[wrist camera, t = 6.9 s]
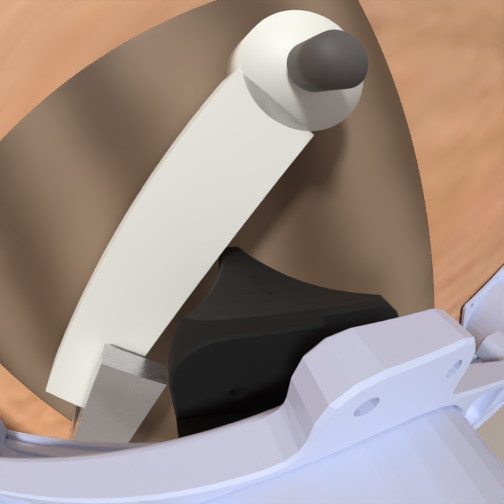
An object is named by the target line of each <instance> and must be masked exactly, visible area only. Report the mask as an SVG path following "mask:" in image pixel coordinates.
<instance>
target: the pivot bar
mask: <svg viewBox="0 0 504 504" xmlns="http://www.w3.org/2000/svg"><path fill="white" fill-rule="evenodd" d="M332 29H336V30H342V29H341V28H340V27H339V26H338V25H337V24H335V23H334V22H332V21H331V20H329V19H327V18H325V17H324V16H321V15H319V14H316V13H313V12H309V11H303V10H288V11H282V12H278V13H275V14H273V15H271V16H269V17H267V18H265V19H264V20H262V21H261V22H260V23H259V24H257V25H256V26H255V27H254V28H253V29H252V30H251V31H250V32H249V33H248V34H247V36H246V37H245V38H244V39H243V40H242V41H241V42H240V43H239V44H238V45H237V46H236V47H235V49H234V50H233V52H232V53H231V55H230V57H229V60H228V63H227V67H226V79H225V80H223V81H222V82H221V83H220V85H219V86H218V87H217V88H216V89H215V90H214V92H213V93H212V94H211V95H210V96H209V98H208V99H207V100H206V101H205V103H204V104H203V105H202V106H201V107H200V109H199V110H198V111H197V112H196V114H195V115H194V116H193V117H192V119H191V120H190V121H189V123H188V124H187V125H186V127H185V128H184V129H183V130H182V132H181V133H180V134H179V136H178V137H177V138H176V140H175V141H174V143H173V144H172V145H171V147H170V148H169V149H168V151H167V152H166V154H165V155H164V156H163V158H162V159H161V161H160V162H159V164H158V165H157V167H156V168H155V169H154V171H153V172H152V174H151V175H150V177H149V178H148V180H147V181H146V183H145V184H144V186H143V187H142V189H141V191H140V192H139V194H138V195H137V197H136V198H135V200H134V202H133V203H132V205H131V206H130V208H129V210H128V211H127V213H126V215H125V216H124V218H123V220H122V221H121V223H120V225H119V226H118V228H117V230H116V232H115V233H114V235H113V237H112V239H111V240H110V242H109V244H108V246H107V247H106V249H105V251H104V253H103V255H102V257H101V259H100V260H99V262H98V264H97V266H96V268H95V270H94V272H93V274H92V276H91V278H90V280H89V282H88V284H87V286H86V288H85V290H84V292H83V294H82V296H81V298H80V300H79V302H78V305H77V307H76V309H75V311H74V313H73V316H72V318H71V320H70V322H69V325H68V327H67V329H66V332H65V334H64V337H63V339H62V341H61V344H60V346H59V349H58V351H57V354H56V357H55V360H54V363H53V366H52V370H51V373H50V377H49V380H48V384H47V387H46V392H48V393H51V394H53V395H55V396H57V397H59V398H61V399H63V400H66V401H68V402H70V403H73V404H75V405H77V406H80V407H82V404H83V401H84V398H85V395H86V392H87V389H88V386H89V384H90V381H91V378H92V375H93V373H94V370H95V367H96V365H97V362H98V360H99V357H100V354H101V352H102V349H103V347H104V344H107V345H110V346H112V347H115V348H118V349H120V350H123V351H126V352H128V353H131V354H134V355H137V356H140V357H143V358H144V357H145V356H146V354H147V353H148V351H149V350H150V349H151V347H152V346H153V345H154V343H155V342H156V340H157V339H158V338H159V336H160V335H161V334H162V332H163V331H164V329H165V328H166V327H167V325H168V324H169V323H170V321H171V320H172V319H173V317H174V316H175V314H176V313H177V312H178V310H179V309H180V308H181V306H182V305H183V304H184V302H185V301H186V300H187V298H188V297H189V296H190V294H191V293H192V292H193V290H194V289H195V288H196V286H197V285H198V284H199V282H200V281H201V280H202V278H203V277H204V276H205V274H206V273H207V272H208V270H209V269H210V268H211V266H212V265H213V264H214V262H215V261H216V260H217V258H218V257H219V256H220V254H221V253H222V252H223V250H224V249H225V248H226V246H227V245H228V244H229V243H230V241H231V240H232V239H233V237H234V236H235V235H236V233H237V232H238V231H239V230H240V228H241V227H242V226H243V224H244V223H245V222H246V220H247V219H248V218H249V217H250V215H251V214H252V213H253V211H254V210H255V209H256V208H257V206H258V205H259V204H260V202H261V201H262V200H263V199H264V197H265V196H266V195H267V194H268V192H269V191H270V190H271V188H272V187H273V186H274V185H275V183H276V182H277V181H278V180H279V178H280V177H281V176H282V174H283V173H284V172H285V171H286V169H287V168H288V167H289V166H290V164H291V163H292V162H293V161H294V159H295V158H296V157H297V156H298V154H299V153H300V152H301V151H302V149H303V148H304V147H305V146H306V144H307V143H308V142H309V141H310V140H311V138H312V137H313V136H314V134H312V133H311V132H310V131H319V130H324V129H328V128H330V127H333V126H335V125H337V124H339V123H340V122H342V121H343V120H344V119H345V118H347V117H348V116H349V115H350V113H351V112H352V111H353V110H354V108H355V107H356V105H357V103H358V101H359V99H360V96H361V93H362V88H363V82H362V83H361V84H359V85H358V86H356V87H354V88H351V89H342V90H332V91H323V92H310V91H306V90H304V89H302V88H300V87H299V86H298V85H296V84H295V83H294V81H293V80H292V79H291V77H290V75H289V73H288V70H287V57H288V54H289V52H290V51H291V49H292V48H293V47H294V46H296V45H297V44H299V43H301V42H303V41H305V40H307V39H309V38H311V37H314V36H316V35H318V34H320V33H322V32H324V31H327V30H332ZM342 31H343V30H342Z"/></svg>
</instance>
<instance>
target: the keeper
mask: <svg viewBox="0 0 504 504" xmlns="http://www.w3.org/2000/svg"><path fill="white" fill-rule="evenodd" d="M166 385H167V380H166V365H164V364H161V363H158V362H155V361H152V360H149V359H146V358H143V357H140V356H137V355H134V354H131V353H128V352H126V351H123V350H120V349H118V348H115V347H112V346H110V345H107V344H104V347H103V349H102V352H101V354H100V357H99V360H98V362H97V365H96V367H95V370H94V373H93V375H92V378H91V381H90V384H89V386H88V389H87V392H86V395H85V398H84V401H83V404H82V407H80V406H77V405H75V407H74V410H73V415H72V422H71V429H70V436H69V440H79V441H92V442H111V443H128V442H129V441H130V439H131V438H132V436H133V435H134V433H135V432H136V430H137V429H138V427H139V426H140V424H141V423H142V421H143V420H144V418H145V417H146V415H147V414H148V412H149V411H150V409H151V408H152V406H153V405H154V403H155V402H156V400H157V399H158V397H159V396H160V394H161V393H162V391H163V390H164V388H165V387H166Z"/></svg>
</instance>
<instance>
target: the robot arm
mask: <svg viewBox="0 0 504 504" xmlns="http://www.w3.org/2000/svg"><path fill="white" fill-rule="evenodd" d="M476 348H477V350H476ZM475 351H476V353H475ZM168 379H169V388H170V393H171V398H172V402H173V407H174V411H175V416H176V422H177V431H178V438H177V439H173V440H169V441H165V442H158V443H111V442H92V441H79V440H69V439H60V438H53V437H46V436H39V435H33V434H28V433H22V432H17V431H12V430H8V429H7V428H6V426H5V425H4V423H3V422H2V421H1V419H0V504H504V466H503V465H502V463H501V462H500V461H499V459H498V458H497V457H496V455H495V454H494V453H493V452H492V450H491V449H490V448H489V447H488V445H487V444H486V443H485V441H484V440H483V439H482V438H481V436H480V435H479V434H478V433H477V431H476V429H477V428H478V427H480V426H481V425H482V424H483V423H484V422H485V421H486V420H487V419H489V418H490V417H491V416H492V415H493V414H494V413H495V412H496V411H497V410H498V409H500V408H501V407H502V405H504V265H503V266H502V267H501V269H500V270H499V271H498V272H497V273H496V274H495V275H494V276H493V277H492V278H491V279H490V280H489V281H488V282H487V283H486V284H485V285H484V286H483V287H482V288H481V289H480V290H479V291H478V292H477V293H476V294H475V295H474V296H473V297H472V298H471V299H470V300H469V301H468V302H467V303H466V304H465V305H464V307H463V310H462V320H461V325H460V324H459V323H458V322H457V321H456V320H455V319H453V318H452V317H451V316H450V315H449V314H448V313H447V312H445V311H444V310H440V309H429V310H426V311H422V312H418V313H414V314H410V315H406V316H402V317H399V316H398V313H397V311H396V310H395V309H394V308H393V307H392V306H391V305H390V304H389V303H388V302H387V301H386V300H385V299H384V298H383V297H382V296H381V295H378V294H365V293H353V292H346V291H340V290H334V289H329V288H325V287H321V286H317V285H313V284H310V283H307V282H303V281H300V280H298V279H295V278H293V277H290V276H287V275H285V274H283V273H281V272H279V271H277V270H275V269H273V268H271V267H269V266H267V265H265V264H263V263H262V262H260V261H258V260H257V259H255V258H253V257H252V256H250V255H248V254H247V253H245V252H244V251H243V250H242V249H241V248H239V247H226V248H225V249H224V250H223V252H222V253H221V254H220V256H219V273H218V276H217V279H216V281H215V283H214V285H213V287H212V289H211V290H210V292H209V293H208V295H207V296H206V298H205V299H204V300H203V301H202V302H201V303H200V304H199V305H198V306H197V307H196V308H195V309H194V310H193V311H191V312H190V313H188V314H187V315H185V316H183V317H182V318H181V319H180V320H179V322H178V324H177V327H176V330H175V333H174V336H173V339H172V343H171V347H170V351H169V357H168Z"/></svg>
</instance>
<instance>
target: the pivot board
mask: <svg viewBox="0 0 504 504" xmlns="http://www.w3.org/2000/svg"><path fill="white" fill-rule="evenodd" d="M288 10H303V11H309V12H313V13H316V14H319V15H321V16H324V17H325V18H327V19H329V20H331V21H332V22H334V23H335V24H337V25H338V26H339V27H340V28H341V29H342V30H343V31H342V30H336V29H332V30H327V31H324V32H322V33H320V34H318V35H316V36H314V37H311V38H309V39H307V40H305V41H303V42H301V43H299V44H297V45H296V46H294V47H293V48H292V49H291V51H290V52H289V54H288V57H287V70H288V73H289V75H290V77H291V79H292V80H293V81H294V83H295V84H296V85H298V86H299V87H300V88H302V89H304V90H306V91H310V92H323V91H332V90H342V89H351V88H354V87H356V86H358V85H359V84H361V83H362V82H363V88H362V93H361V96H360V99H359V101H358V103H357V105H356V107H355V108H354V110H353V111H352V112H351V113H350V115H349V116H348V117H347V118H345V119H344V120H343V121H342V122H340V123H339V124H337V125H335V126H333V127H330V128H328V129H324V130H319V131H310V132H311V133H312V134H314V136H313V137H312V138H311V140H310V141H309V142H308V143H307V144H306V146H305V147H304V148H303V149H302V151H301V152H300V153H299V154H298V156H297V157H296V158H295V159H294V161H293V162H292V163H291V164H290V166H289V167H288V168H287V169H286V171H285V172H284V173H283V174H282V176H281V177H280V178H279V180H278V181H277V182H276V183H275V185H274V186H273V187H272V188H271V190H270V191H269V192H268V194H267V195H266V196H265V197H264V199H263V200H262V201H261V202H260V204H259V205H258V206H257V208H256V209H255V210H254V211H253V213H252V214H251V215H250V217H249V218H248V219H247V220H246V222H245V223H244V224H243V226H242V227H241V228H240V230H239V231H238V232H237V233H236V235H235V236H234V237H233V239H232V240H231V241H230V243H229V244H228V245H227V246H226V247H239V248H241V249H242V250H243V251H244V252H245V253H247V254H248V255H250V256H252V257H253V258H255V259H257V260H258V261H260V262H262V263H263V264H265V265H267V266H269V267H271V268H273V269H275V270H277V271H279V272H281V273H283V274H285V275H287V276H290V277H293V278H295V279H298V280H300V281H303V282H307V283H310V284H313V285H317V286H321V287H325V288H329V289H334V290H340V291H346V292H353V293H365V294H378V295H381V296H382V297H383V298H384V299H385V300H386V301H387V302H388V303H389V304H390V305H391V306H392V307H393V308H394V309H395V310H396V311H397V313H398V316H399V317H402V316H406V315H410V314H414V313H418V312H422V311H426V310H429V309H434V284H433V267H432V255H431V244H430V235H429V227H428V220H427V213H426V206H425V200H424V194H423V189H422V183H421V178H420V173H419V169H418V164H417V160H416V155H415V151H414V147H413V143H412V139H411V135H410V132H409V128H408V124H407V121H406V117H405V114H404V111H403V108H402V104H401V101H400V98H399V95H398V92H397V89H396V86H395V83H394V81H393V78H392V75H391V73H390V70H389V67H388V65H387V62H386V60H385V57H384V55H383V52H382V50H381V47H380V45H379V43H378V41H377V38H376V36H375V34H374V32H373V29H372V27H371V25H370V23H369V21H368V19H367V17H366V15H365V13H364V11H363V9H362V7H361V5H360V3H359V1H358V0H216V1H213V2H211V3H208V4H205V5H203V6H200V7H197V8H195V9H193V10H190V11H188V12H185V13H183V14H181V15H178V16H176V17H174V18H172V19H169V20H167V21H165V22H163V23H161V24H159V25H157V26H155V27H153V28H151V29H149V30H147V31H145V32H143V33H141V34H139V35H138V36H136V37H134V38H132V39H130V40H129V41H127V42H125V43H123V44H122V45H120V46H118V47H117V48H115V49H113V50H112V51H110V52H108V53H107V54H105V55H104V56H102V57H101V58H99V59H98V60H96V61H94V62H93V63H92V64H90V65H89V66H87V67H86V68H84V69H83V70H81V71H80V72H79V73H77V74H76V75H74V76H73V77H72V78H70V79H69V80H68V81H66V82H65V83H64V84H63V85H61V86H60V87H59V88H57V89H56V90H55V91H54V92H52V93H51V94H50V95H49V96H48V97H46V98H45V99H44V100H43V101H42V102H41V103H39V104H38V105H37V106H36V107H35V108H34V109H33V110H32V111H30V112H29V113H28V114H27V115H26V116H25V117H24V118H23V119H22V120H21V121H20V122H19V123H18V124H17V125H16V126H15V127H14V128H13V129H12V130H11V131H10V132H9V133H8V134H7V135H6V136H5V137H4V138H3V139H2V140H1V141H0V364H1V365H2V366H3V367H5V368H6V369H7V370H8V371H9V372H10V373H11V374H12V375H13V376H14V377H15V378H17V379H18V380H19V381H20V382H21V383H22V384H23V385H25V386H26V387H27V388H28V389H29V390H30V391H32V392H33V393H34V394H35V395H37V396H38V397H39V398H40V399H42V400H43V401H44V402H45V403H47V404H48V405H49V406H51V407H52V408H53V409H55V410H56V411H57V412H59V413H60V414H62V415H63V416H64V417H66V418H67V419H69V420H70V421H72V415H73V410H74V407H75V404H73V403H70V402H68V401H66V400H63V399H61V398H59V397H57V396H55V395H53V394H51V393H48V392H46V387H47V384H48V380H49V377H50V373H51V370H52V366H53V363H54V360H55V357H56V354H57V351H58V349H59V346H60V344H61V341H62V339H63V337H64V334H65V332H66V329H67V327H68V325H69V322H70V320H71V318H72V316H73V313H74V311H75V309H76V307H77V305H78V302H79V300H80V298H81V296H82V294H83V292H84V290H85V288H86V286H87V284H88V282H89V280H90V278H91V276H92V274H93V272H94V270H95V268H96V266H97V264H98V262H99V260H100V259H101V257H102V255H103V253H104V251H105V249H106V247H107V246H108V244H109V242H110V240H111V239H112V237H113V235H114V233H115V232H116V230H117V228H118V226H119V225H120V223H121V221H122V220H123V218H124V216H125V215H126V213H127V211H128V210H129V208H130V206H131V205H132V203H133V202H134V200H135V198H136V197H137V195H138V194H139V192H140V191H141V189H142V187H143V186H144V184H145V183H146V181H147V180H148V178H149V177H150V175H151V174H152V172H153V171H154V169H155V168H156V167H157V165H158V164H159V162H160V161H161V159H162V158H163V156H164V155H165V154H166V152H167V151H168V149H169V148H170V147H171V145H172V144H173V143H174V141H175V140H176V138H177V137H178V136H179V134H180V133H181V132H182V130H183V129H184V128H185V127H186V125H187V124H188V123H189V121H190V120H191V119H192V117H193V116H194V115H195V114H196V112H197V111H198V110H199V109H200V107H201V106H202V105H203V104H204V103H205V101H206V100H207V99H208V98H209V96H210V95H211V94H212V93H213V92H214V90H215V89H216V88H217V87H218V86H219V85H220V83H221V82H222V81H223V80H225V79H226V67H227V63H228V60H229V57H230V55H231V53H232V52H233V50H234V49H235V47H236V46H237V45H238V44H239V43H240V42H241V41H242V40H243V39H244V38H245V37H246V36H247V34H248V33H249V32H250V31H251V30H252V29H253V28H254V27H255V26H256V25H257V24H259V23H260V22H261V21H262V20H264V19H265V18H267V17H269V16H271V15H273V14H275V13H278V12H282V11H288ZM218 273H219V257H218V258H217V260H216V261H215V262H214V264H213V265H212V266H211V268H210V269H209V270H208V272H207V273H206V274H205V276H204V277H203V278H202V280H201V281H200V282H199V284H198V285H197V286H196V288H195V289H194V290H193V292H192V293H191V294H190V296H189V297H188V298H187V300H186V301H185V302H184V304H183V305H182V306H181V308H180V309H179V310H178V312H177V313H176V314H175V316H174V317H173V319H172V320H171V321H170V323H169V324H168V325H167V327H166V328H165V329H164V331H163V332H162V334H161V335H160V336H159V338H158V339H157V340H156V342H155V343H154V345H153V346H152V347H151V349H150V350H149V351H148V353H147V354H146V356H145V357H144V358H146V359H149V360H152V361H155V362H158V363H161V364H164V365H166V380H167V385H166V387H165V388H164V390H163V391H162V393H161V394H160V396H159V397H158V399H157V400H156V402H155V403H154V405H153V406H152V408H151V409H150V411H149V412H148V414H147V415H146V417H145V418H144V420H143V421H142V423H141V424H140V426H139V427H138V429H137V430H136V432H135V433H134V435H133V436H132V438H131V439H130V441H129V442H128V443H158V442H165V441H169V440H173V439H177V438H178V431H177V422H176V416H175V411H174V407H173V402H172V398H171V393H170V388H169V379H168V357H169V351H170V347H171V343H172V339H173V336H174V333H175V330H176V327H177V324H178V322H179V320H180V319H181V318H182V317H183V316H185V315H187V314H188V313H190V312H191V311H193V310H194V309H195V308H196V307H197V306H198V305H199V304H200V303H201V302H202V301H203V300H204V299H205V298H206V296H207V295H208V293H209V292H210V290H211V289H212V287H213V285H214V283H215V281H216V279H217V276H218Z"/></svg>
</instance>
